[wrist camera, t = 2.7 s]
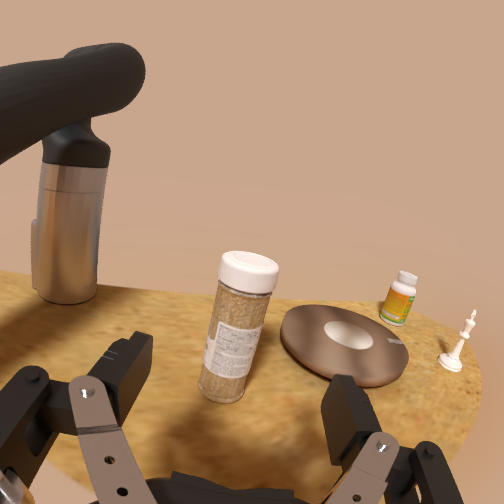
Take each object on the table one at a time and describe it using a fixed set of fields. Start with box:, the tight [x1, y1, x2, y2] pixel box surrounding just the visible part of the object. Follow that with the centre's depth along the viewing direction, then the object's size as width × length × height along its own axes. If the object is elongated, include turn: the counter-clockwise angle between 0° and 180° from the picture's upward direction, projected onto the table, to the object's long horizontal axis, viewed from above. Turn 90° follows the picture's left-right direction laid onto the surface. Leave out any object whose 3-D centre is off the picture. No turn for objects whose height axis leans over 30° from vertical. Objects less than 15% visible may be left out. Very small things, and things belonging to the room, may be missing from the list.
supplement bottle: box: [380, 271, 418, 326], centre depth 51 cm, size 5×5×10 cm
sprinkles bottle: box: [198, 251, 279, 403], centre depth 24 cm, size 5×5×14 cm
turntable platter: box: [280, 305, 409, 387], centre depth 36 cm, size 18×18×2 cm
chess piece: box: [438, 310, 477, 372], centre depth 36 cm, size 5×5×10 cm
